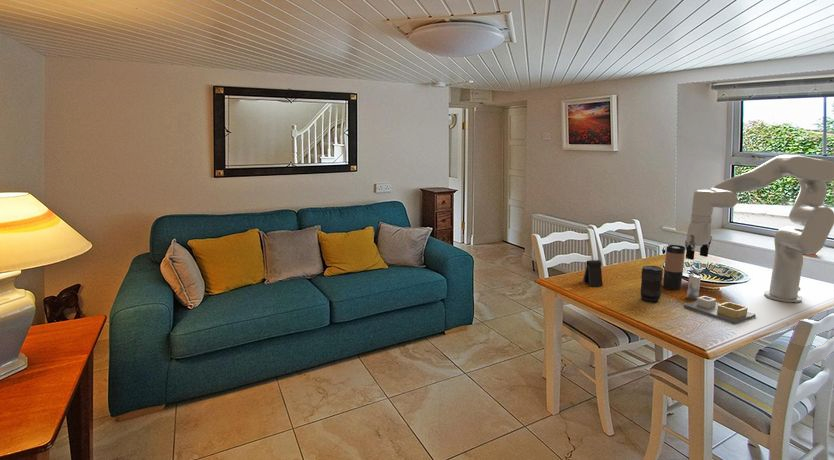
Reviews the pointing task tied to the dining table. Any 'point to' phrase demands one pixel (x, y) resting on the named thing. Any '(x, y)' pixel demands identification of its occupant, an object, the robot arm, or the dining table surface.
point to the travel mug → (673, 267)
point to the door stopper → (593, 273)
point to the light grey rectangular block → (693, 286)
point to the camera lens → (651, 283)
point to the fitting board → (720, 310)
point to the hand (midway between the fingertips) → (696, 257)
